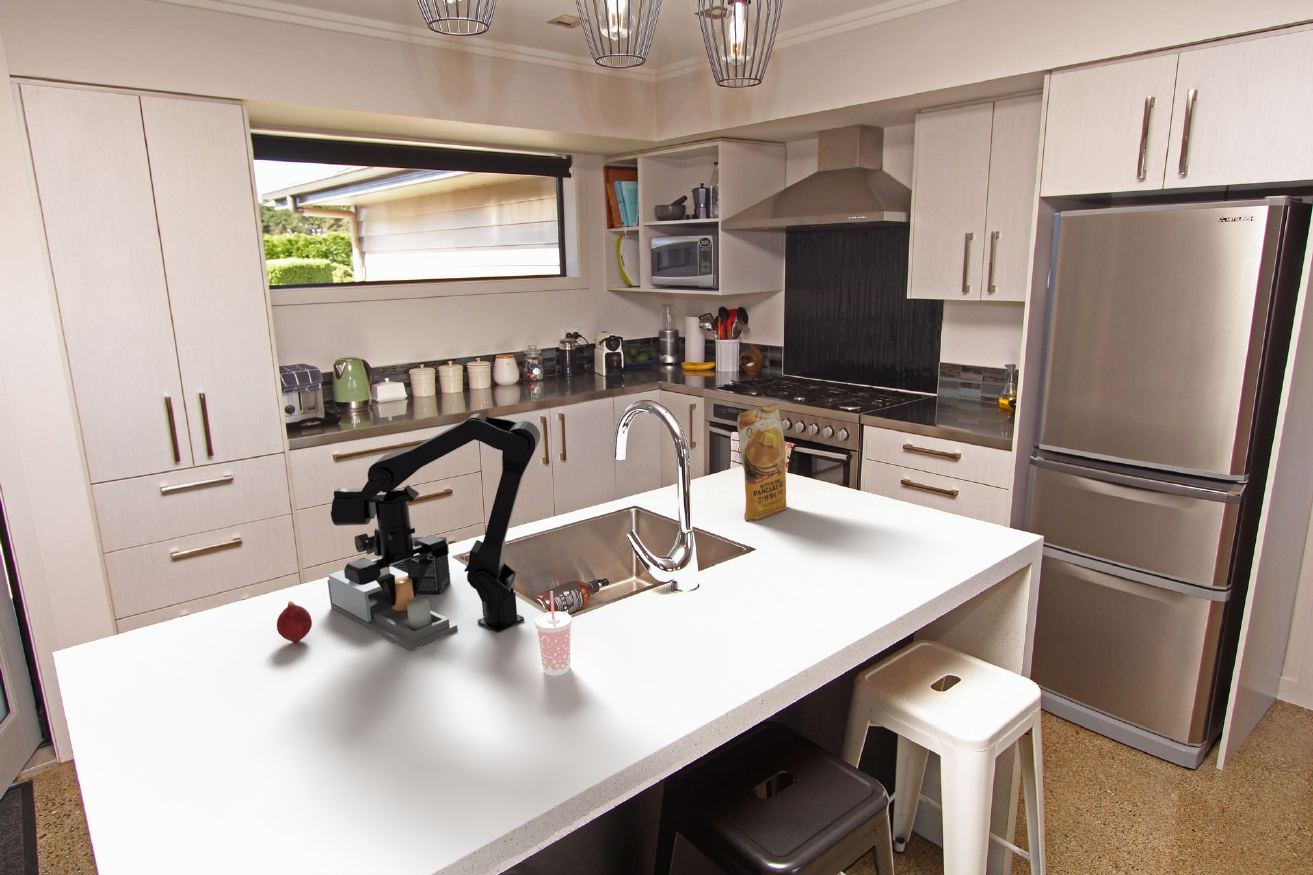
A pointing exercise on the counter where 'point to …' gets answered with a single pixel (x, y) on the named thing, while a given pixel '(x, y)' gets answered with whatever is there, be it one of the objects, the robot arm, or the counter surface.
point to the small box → (432, 573)
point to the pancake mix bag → (763, 461)
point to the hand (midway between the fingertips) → (403, 600)
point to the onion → (294, 622)
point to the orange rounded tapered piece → (403, 593)
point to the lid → (356, 592)
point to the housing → (403, 621)
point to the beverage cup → (554, 640)
